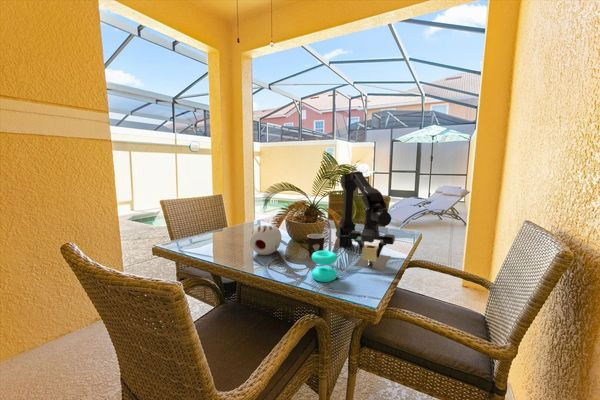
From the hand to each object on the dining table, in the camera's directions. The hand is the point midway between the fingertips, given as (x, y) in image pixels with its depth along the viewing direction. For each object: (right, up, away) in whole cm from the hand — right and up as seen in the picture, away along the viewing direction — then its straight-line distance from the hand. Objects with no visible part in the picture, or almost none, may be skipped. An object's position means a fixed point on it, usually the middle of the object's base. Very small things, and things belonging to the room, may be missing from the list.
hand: (370, 256), depth 119 cm
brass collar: (0, -1, 0) cm, 1 cm away
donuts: (-21, -7, -10) cm, 24 cm away
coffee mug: (-24, -3, +17) cm, 30 cm away
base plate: (+2, -5, +5) cm, 7 cm away
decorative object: (-47, -3, +21) cm, 52 cm away
